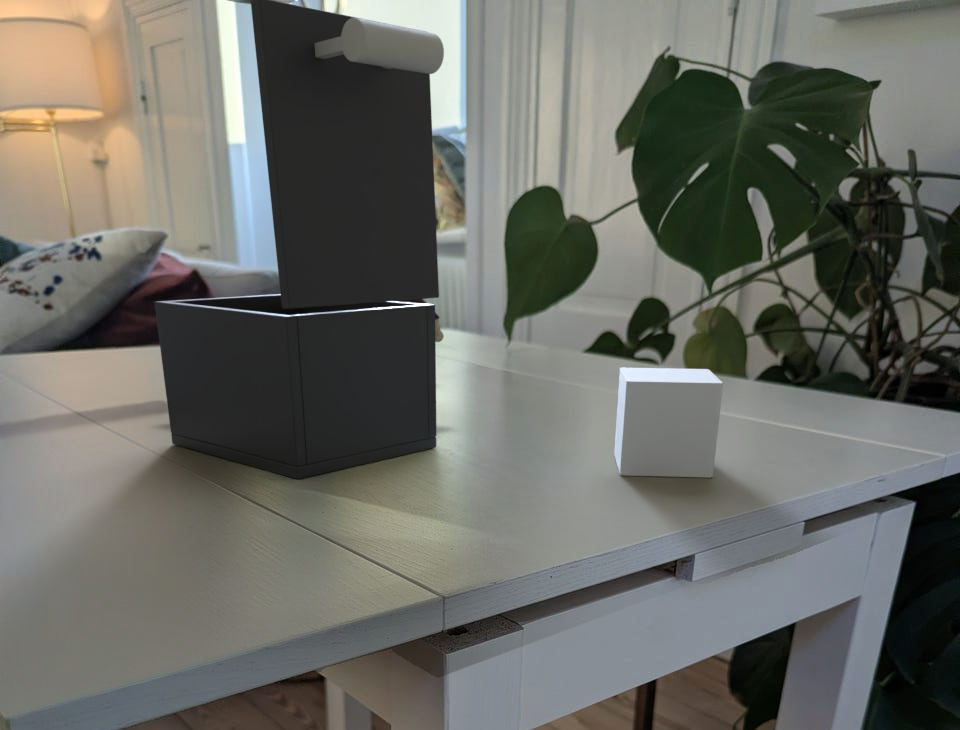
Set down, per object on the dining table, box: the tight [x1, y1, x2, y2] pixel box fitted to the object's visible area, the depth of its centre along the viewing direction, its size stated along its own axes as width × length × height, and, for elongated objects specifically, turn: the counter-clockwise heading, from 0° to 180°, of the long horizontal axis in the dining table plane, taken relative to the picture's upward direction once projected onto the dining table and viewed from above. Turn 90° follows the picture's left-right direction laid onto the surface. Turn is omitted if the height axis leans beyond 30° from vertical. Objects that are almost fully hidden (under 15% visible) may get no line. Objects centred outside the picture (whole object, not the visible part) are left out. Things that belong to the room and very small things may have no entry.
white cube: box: [613, 367, 724, 479], centre depth 62 cm, size 6×6×6 cm
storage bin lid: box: [250, 0, 445, 309], centre depth 55 cm, size 15×13×5 cm
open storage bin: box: [154, 293, 437, 480], centre depth 66 cm, size 15×13×10 cm
